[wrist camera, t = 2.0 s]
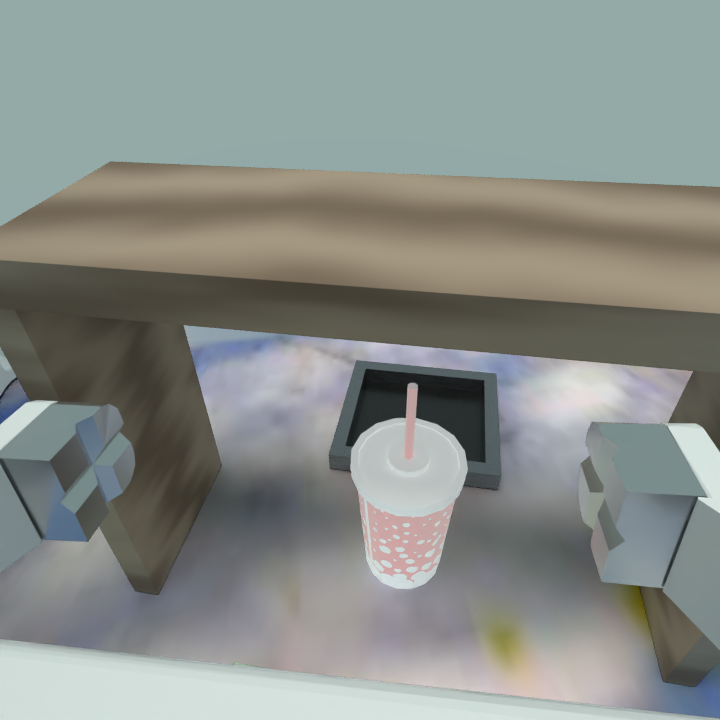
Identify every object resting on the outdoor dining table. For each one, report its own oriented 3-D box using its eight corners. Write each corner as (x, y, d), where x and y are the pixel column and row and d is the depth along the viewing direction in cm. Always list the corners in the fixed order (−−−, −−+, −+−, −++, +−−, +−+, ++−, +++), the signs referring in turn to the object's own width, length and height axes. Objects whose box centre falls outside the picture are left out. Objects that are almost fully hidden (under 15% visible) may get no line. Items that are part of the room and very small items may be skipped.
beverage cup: (472, 568, 32) (508, 399, 23) (389, 622, 30) (395, 455, 21) (413, 498, 36) (425, 332, 28) (336, 540, 34) (322, 373, 25)
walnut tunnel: (694, 686, 27) (1025, 336, 13) (134, 590, 31) (-51, 256, 18) (646, 520, 34) (823, 191, 21) (202, 463, 39) (110, 161, 25)
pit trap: (497, 489, 37) (500, 475, 36) (329, 468, 38) (328, 454, 37) (493, 387, 45) (496, 373, 44) (356, 373, 47) (356, 360, 46)
